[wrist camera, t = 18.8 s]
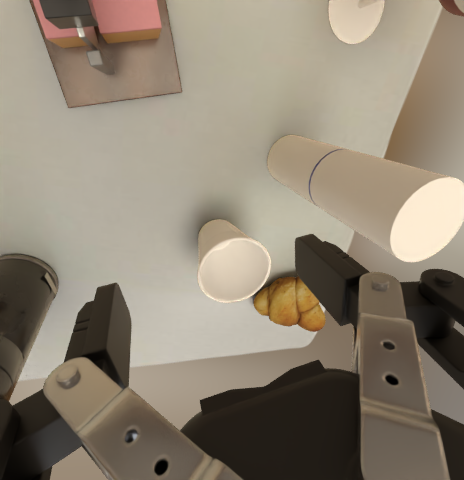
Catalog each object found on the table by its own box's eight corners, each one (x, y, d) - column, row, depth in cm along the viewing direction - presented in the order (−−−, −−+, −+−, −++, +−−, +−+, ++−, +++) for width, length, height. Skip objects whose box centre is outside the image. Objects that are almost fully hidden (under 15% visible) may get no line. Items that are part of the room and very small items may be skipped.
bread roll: (247, 312, 55) (261, 342, 49) (256, 269, 51) (274, 296, 45) (304, 308, 59) (325, 336, 53) (317, 268, 55) (342, 293, 49)
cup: (182, 261, 47) (192, 304, 37) (189, 204, 43) (203, 235, 33) (239, 262, 50) (262, 302, 40) (251, 209, 46) (279, 239, 36)
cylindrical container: (280, 127, 41) (429, 163, 20) (317, 145, 44) (484, 194, 22) (259, 173, 43) (373, 251, 22) (296, 188, 46) (429, 269, 25)
